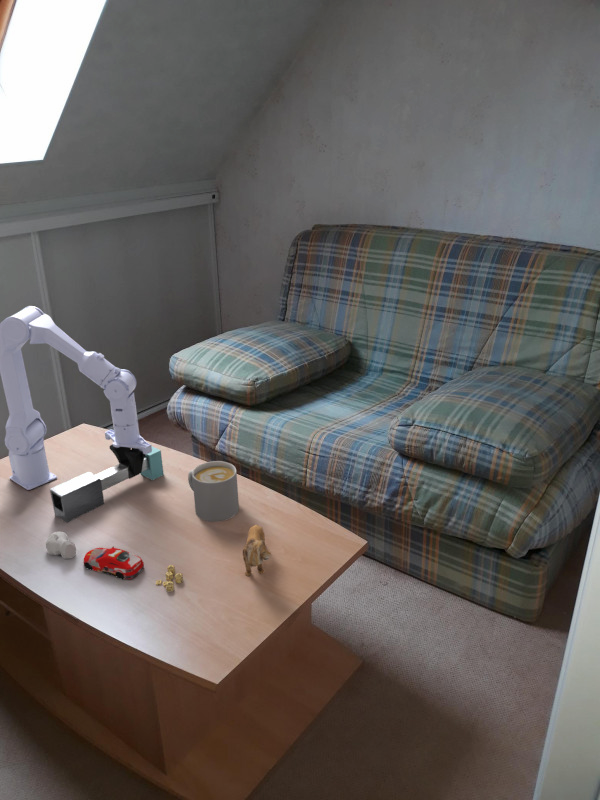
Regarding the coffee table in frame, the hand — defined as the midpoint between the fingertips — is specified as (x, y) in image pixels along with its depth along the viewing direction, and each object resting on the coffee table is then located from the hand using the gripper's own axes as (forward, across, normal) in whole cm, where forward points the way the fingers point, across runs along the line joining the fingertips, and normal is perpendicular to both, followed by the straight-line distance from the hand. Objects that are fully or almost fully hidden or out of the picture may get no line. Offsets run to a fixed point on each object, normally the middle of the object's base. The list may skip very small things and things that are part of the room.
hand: (131, 471), depth 162 cm
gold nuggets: (+4, +35, -21) cm, 41 cm away
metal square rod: (+1, 0, -4) cm, 4 cm away
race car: (+4, +22, -24) cm, 33 cm away
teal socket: (+3, 0, +6) cm, 7 cm away
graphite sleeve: (+3, -1, -15) cm, 15 cm away
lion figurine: (+4, +46, -7) cm, 46 cm away
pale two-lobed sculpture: (+4, +9, -28) cm, 29 cm away
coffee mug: (+4, +23, +4) cm, 24 cm away
